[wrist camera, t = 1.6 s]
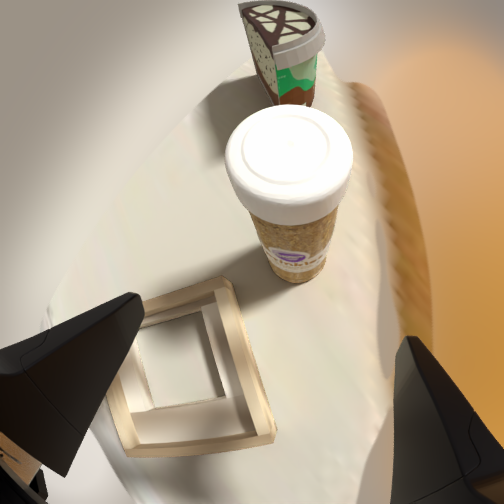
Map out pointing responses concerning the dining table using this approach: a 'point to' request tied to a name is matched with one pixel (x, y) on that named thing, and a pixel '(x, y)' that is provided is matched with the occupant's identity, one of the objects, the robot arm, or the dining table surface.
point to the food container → (284, 48)
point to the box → (200, 412)
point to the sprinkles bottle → (291, 183)
